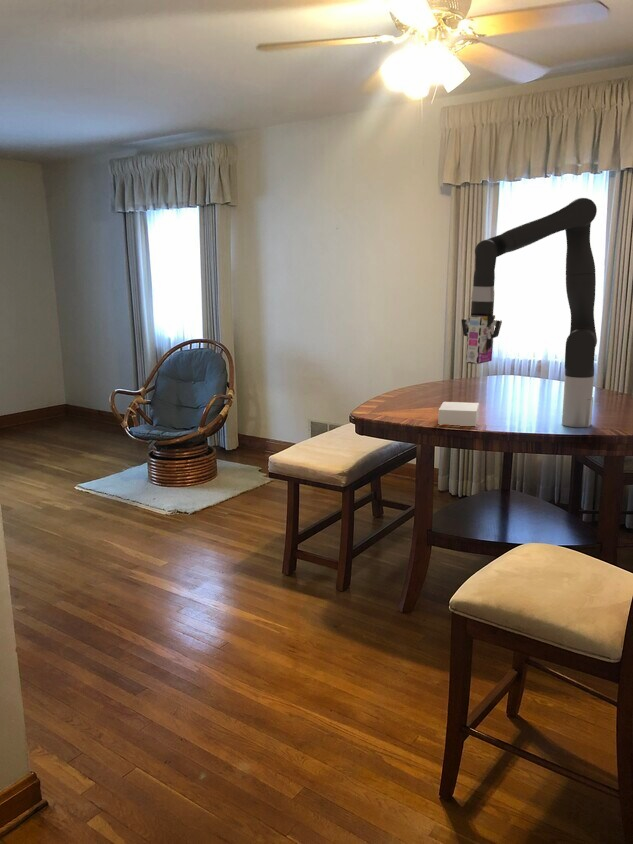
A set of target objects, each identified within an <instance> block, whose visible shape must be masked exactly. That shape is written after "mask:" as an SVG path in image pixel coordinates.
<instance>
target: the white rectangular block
mask: <svg viewBox="0 0 633 844" xmlns="http://www.w3.org/2000/svg"><path fill="white" fill-rule="evenodd" d="M479 416H480V402H461V401H443V402H442V404H440V407H439V408H438V415H437V418H438V419H437V422H438V423H437V425H438V424H450V425H460V426H476V427H477V425H478V422H477V421H479V419H478V418H480V417H479ZM476 424H477V425H476ZM460 426H459V427H460Z"/></svg>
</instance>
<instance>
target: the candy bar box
mask: <svg viewBox="0 0 633 844" xmlns="http://www.w3.org/2000/svg"><path fill="white" fill-rule="evenodd" d="M493 317H494V319H496V315H494V314H493ZM468 318H469V324H468V337H467V342H466V353H465V354H466V356H465V363H466V364H472V365H473V364H474V365H479V364H480V365H481V364H484V363H487V362H492V361H493V359H492V358H493V348H494V347H493V345H494V338H493V339H492V348H490V350H487V349H486V348H487V339H488V337H487V333H486V325H487V316H481V315H473V316H471V315H469V316H468ZM490 328H491V332H492V335H493V333H494V329H495V325H494V322H493V323H492V324H491V325H490V327H488V329H489V330H490Z"/></svg>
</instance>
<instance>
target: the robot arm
mask: <svg viewBox="0 0 633 844" xmlns="http://www.w3.org/2000/svg"><path fill="white" fill-rule="evenodd" d="M597 212H598V208H597V205H596V203H595V201H593V200H592V199H590V198H587V197H578V198H576V199H573V200H572V201H571V202H569V204H567V205H566V206H564V207H562V208H560V209H559V210H557V211H555V212H554V211H553V212H552V213H550V214H548V215H545V216H543V217H541V218H538V219H535V220H532V221H529V222H525V223H524V224H521V225H518V226H516V227H513V228H511V229H508V230H506V231H504V232H502V233H501V234H499V235H495V236H492V237H490V238H487V239H484V240H481V241H479V242H478V243H477V244H476V246H475V248H474V255H475V261H474V263H475V265H474V269H475V270H474V273H473V280H472V281H473V284H472V292H471V298H470V300H471V302H470V303H471V305H470V307H471V308H470V316H473V315H481V316H487V325H486V333H487V337H488V339H487V348H486V349H487V350H490V348H492V339H493V340H494V338H498V337H499V336H500V335H499V334H500V331H501V327H502V324H503V321H502V320H501V319H496V318H495V319H494V317H493V315H494V308H495V307H494V306H495V281H496V280H495V279H496V277H495V275H496V274H495V268H496V263H497V257H500V256H502V255H505V254H507V253H511V252H515V251H517V250H521V249H522V248H525V247H527V246H529V245H532V244H534V243H536V242H538V241H540V240H542V239H545V238H547V237H549V236H551V235H554V234H556V233H560V232H563V231H565V237H566V256H565V289H566V296H567V297H566V298H567V302H568V306H569V309H570V329H569V330H570V331H569V334H568V336H567V338H566V342H565V353H564V383H563V384H564V386H563V400H562V402H563V403H562V415H561V416H562V417H561V425H563V426H565V427H570V428H571V427H572V428H590V427H591V425H592V423H593V422H592V420H593V407H594V396H593V394H594V391H593V390H594V379H595V378H594V377H595V354H596V348H597V343H598V338H597V331H596V324H595V313H594V312H595V301H596V278H597V277H596V264H595V260H594V254H593V251H592V246H591V225H592V222H593V221H594V220H595V218H596V216H597ZM493 322H494V333H493V335H492V332H491V328H490V330H489V329H488V327H490V325H491V324H492V323H493ZM468 325H469V317H468V318H461V327H462V333H463V336H464V337H467V338H468Z"/></svg>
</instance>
